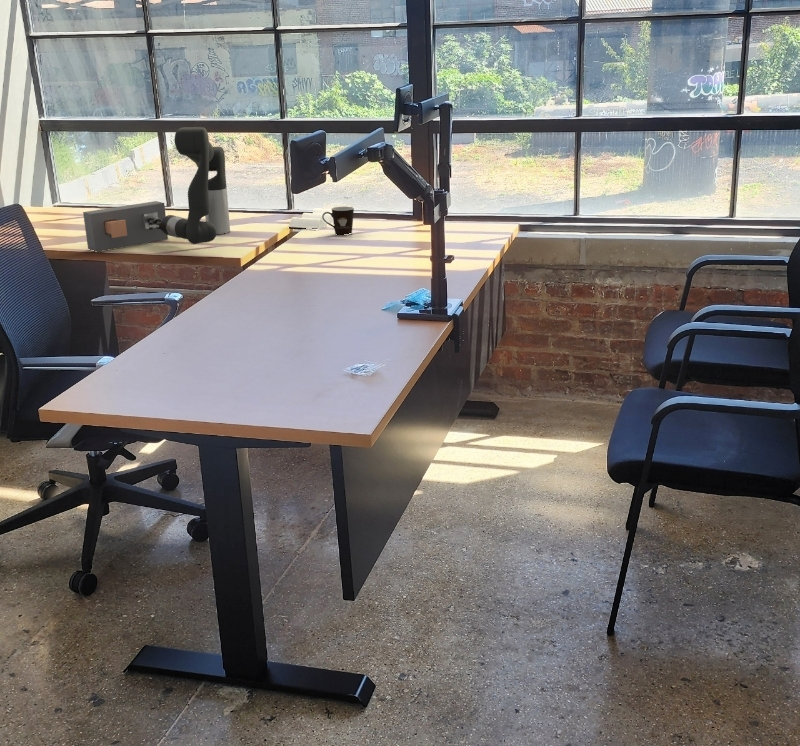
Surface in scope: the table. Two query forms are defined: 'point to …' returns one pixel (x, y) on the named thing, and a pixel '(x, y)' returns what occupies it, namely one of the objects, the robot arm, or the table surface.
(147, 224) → the grey plunger
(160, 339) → the table surface
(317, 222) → the file organizer
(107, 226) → the terracotta plunger
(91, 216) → the press panel
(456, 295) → the table surface
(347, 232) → the coffee mug
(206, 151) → the robot arm
